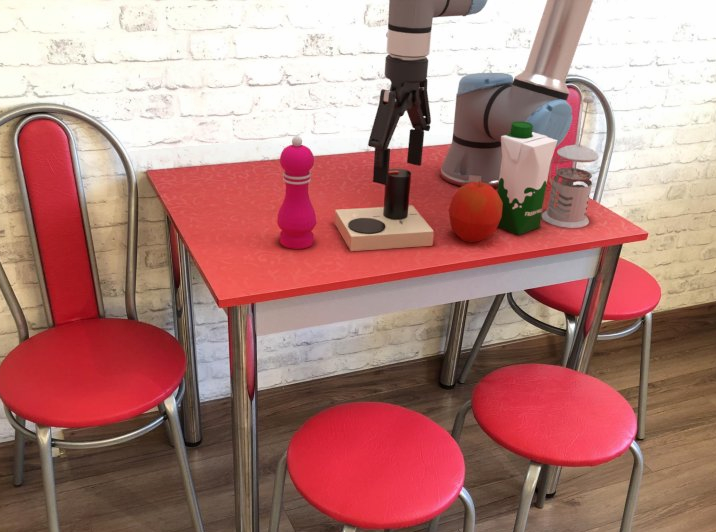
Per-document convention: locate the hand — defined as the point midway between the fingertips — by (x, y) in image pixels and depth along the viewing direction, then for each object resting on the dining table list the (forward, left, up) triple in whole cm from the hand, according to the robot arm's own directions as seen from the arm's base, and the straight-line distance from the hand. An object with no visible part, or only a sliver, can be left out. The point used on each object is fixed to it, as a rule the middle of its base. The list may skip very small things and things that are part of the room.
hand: (397, 173), depth 150 cm
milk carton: (-25, +2, -12) cm, 28 cm away
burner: (+7, +4, -9) cm, 12 cm away
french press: (-37, -1, -12) cm, 39 cm away
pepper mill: (+20, +3, -12) cm, 23 cm away
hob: (+3, +2, -12) cm, 12 cm away
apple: (-14, +6, -12) cm, 19 cm away
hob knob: (0, 0, -8) cm, 8 cm away
